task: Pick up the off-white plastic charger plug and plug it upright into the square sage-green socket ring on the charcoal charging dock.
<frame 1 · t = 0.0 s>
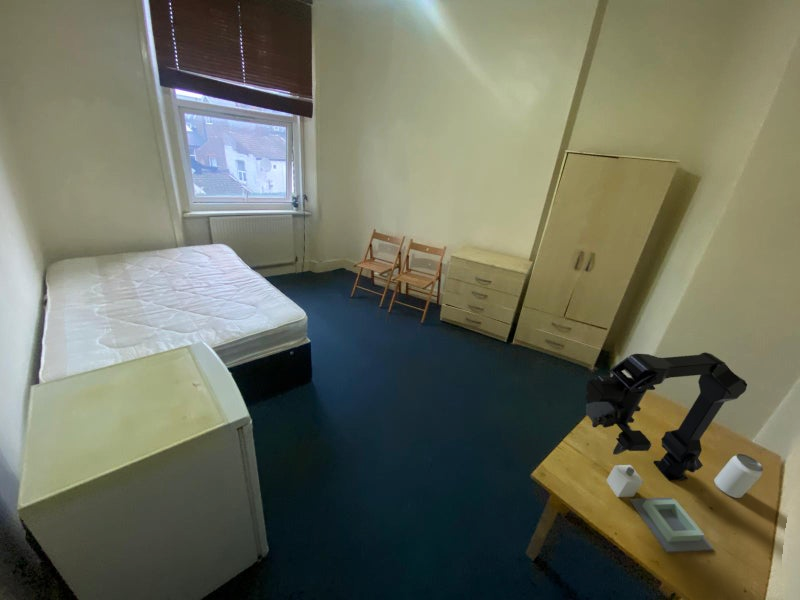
hand: (604, 439, 92), 15 cm above the table, tool pointing down, fingers open, 9 cm apart
can: (726, 488, 98), on the table
charger plug: (619, 488, 95), on the table
charging dock: (668, 523, 87), on the table
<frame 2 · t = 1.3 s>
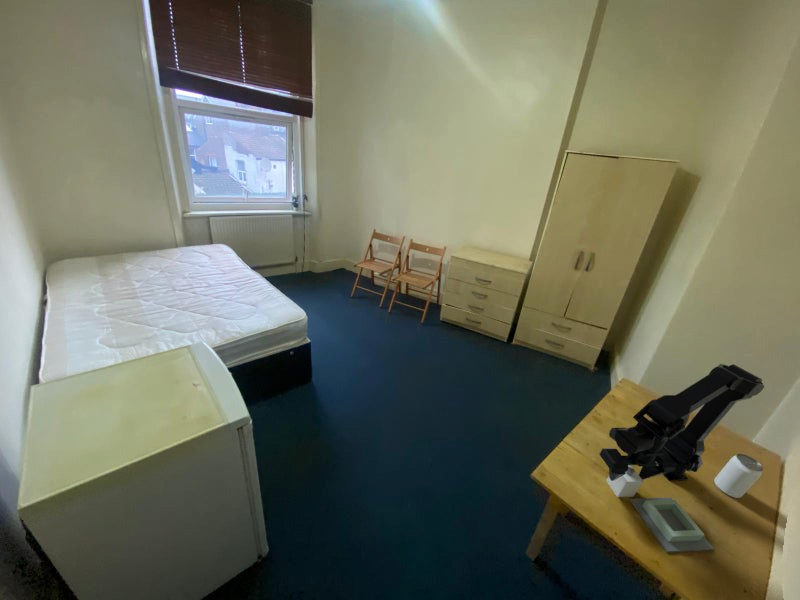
hand: (625, 478, 93), 4 cm above the table, tool pointing down, fingers open, 9 cm apart
nothing on the table moved.
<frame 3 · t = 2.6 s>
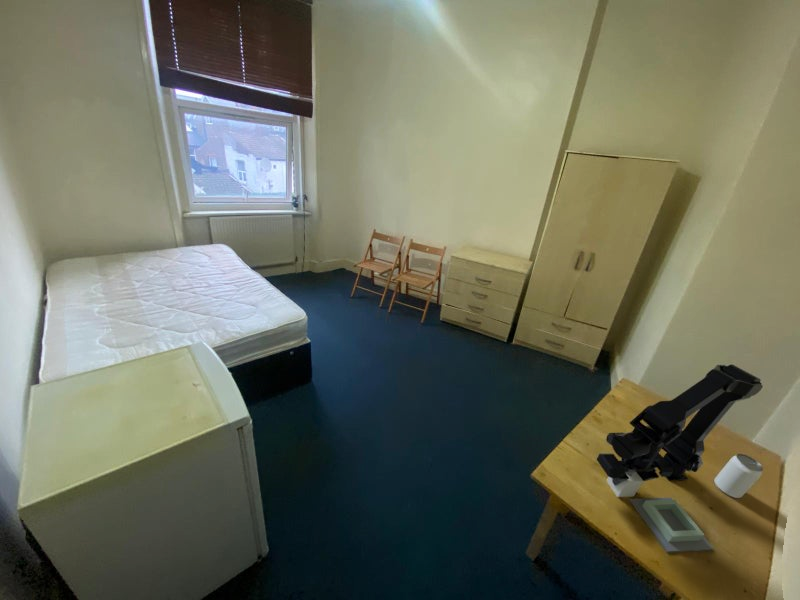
hand: (622, 483, 94), 2 cm above the table, tool pointing down, fingers closed on charger plug, 5 cm apart
charger plug: (619, 488, 95), on the table, touching gripper
everything else where it was.
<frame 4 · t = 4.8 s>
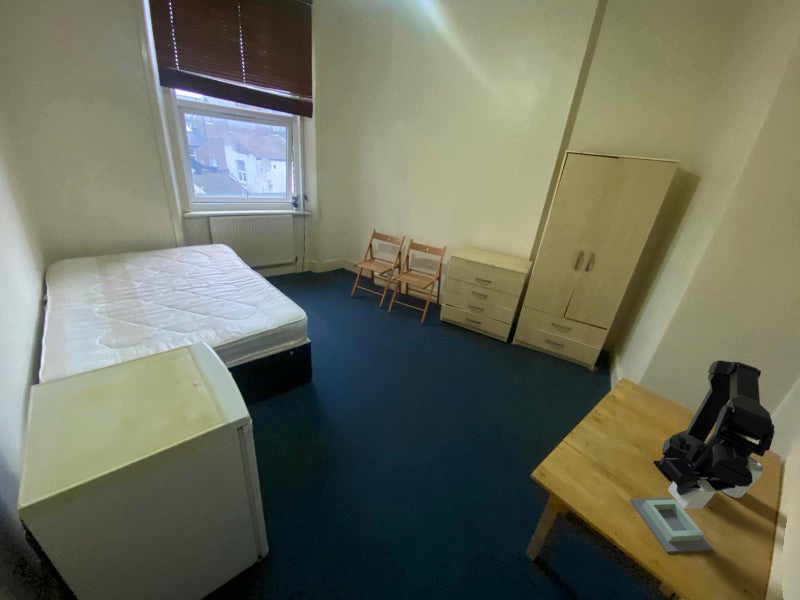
hand: (688, 493, 82), 13 cm above the table, tool pointing down, fingers closed on charger plug, 5 cm apart
charger plug: (684, 498, 83), point 10 cm above the table, touching gripper
everything else where it was.
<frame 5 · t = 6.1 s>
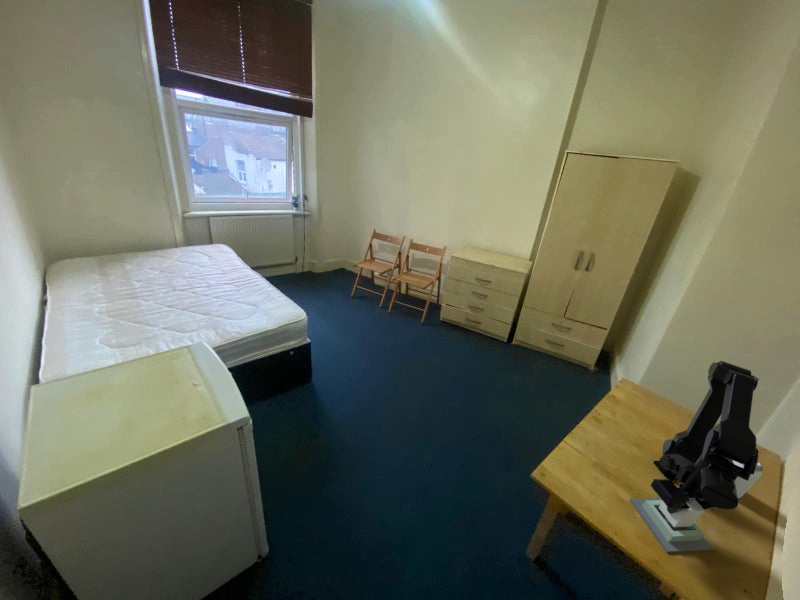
hand: (678, 511, 85), 5 cm above the table, tool pointing down, fingers closed on charger plug, 5 cm apart
charger plug: (674, 516, 86), point 3 cm above the table, touching gripper
everything else where it was.
when the fingers open (4 cm above the table, at t = 7.2 s): charger plug drops 1 cm, resting on charging dock.
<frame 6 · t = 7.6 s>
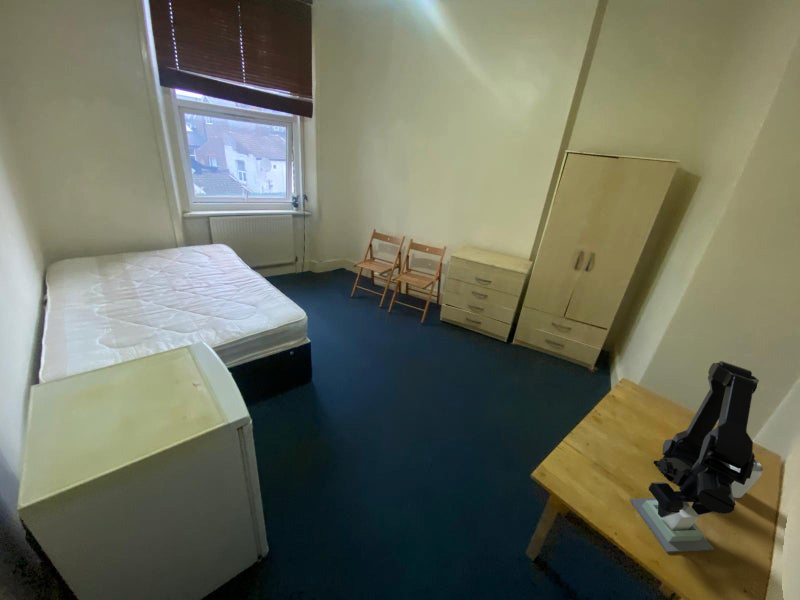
hand: (675, 514, 85), 4 cm above the table, tool pointing down, fingers open, 9 cm apart
charger plug: (669, 522, 87), point 1 cm above the table, touching charging dock
everything else where it was.
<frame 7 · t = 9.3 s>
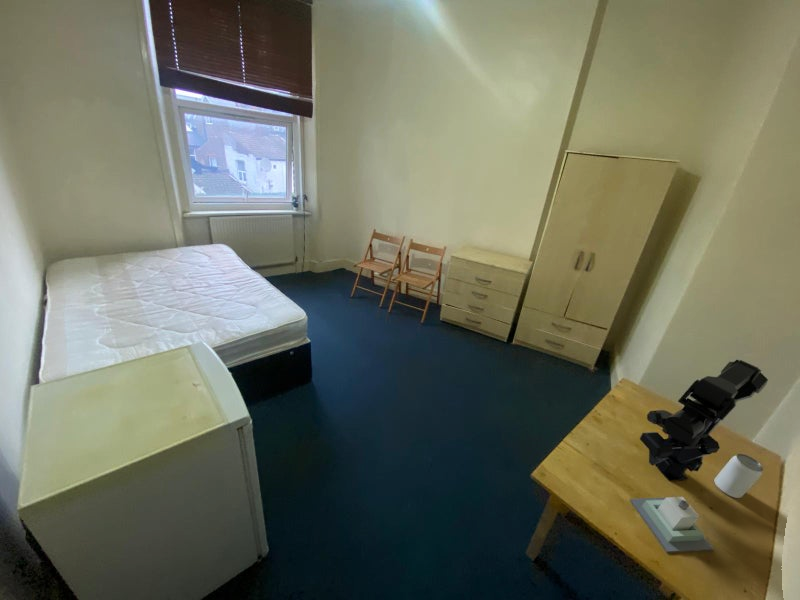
hand: (665, 462, 90), 12 cm above the table, tool pointing down, fingers open, 9 cm apart
nothing on the table moved.
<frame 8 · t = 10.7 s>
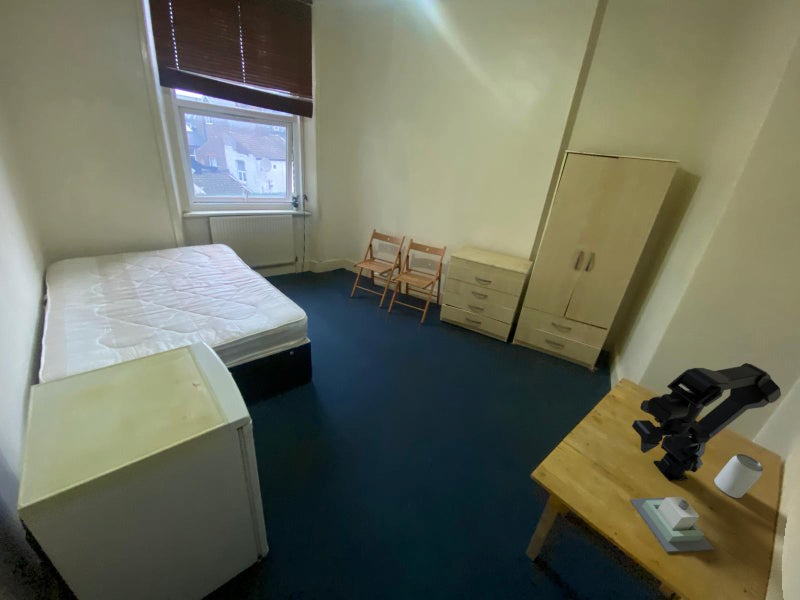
hand: (657, 451, 93), 12 cm above the table, tool pointing down, fingers open, 9 cm apart
nothing on the table moved.
at the end: charger plug 0.0 cm off-centre on the charging dock, point 0.6 cm above the charging dock's base; charger plug tilted 0°; the gripper is holding nothing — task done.
